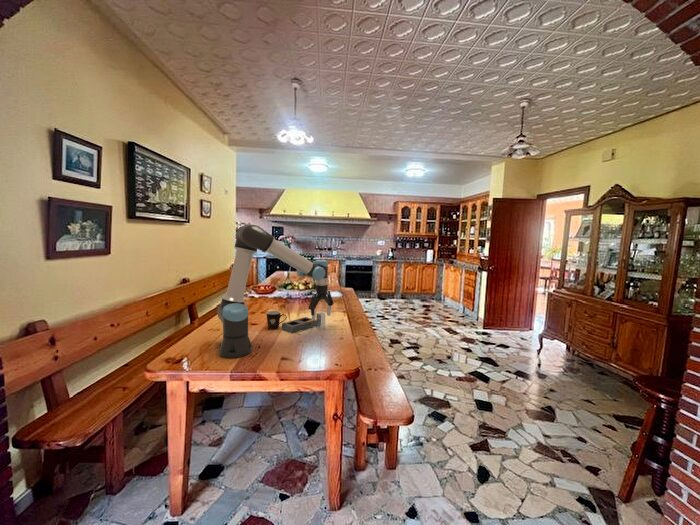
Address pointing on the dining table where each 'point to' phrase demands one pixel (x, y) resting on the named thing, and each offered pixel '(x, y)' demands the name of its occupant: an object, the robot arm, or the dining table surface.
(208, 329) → the dining table surface
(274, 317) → the coffee mug
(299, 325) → the grey cinder block
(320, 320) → the aluminium peg
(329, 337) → the dining table surface
